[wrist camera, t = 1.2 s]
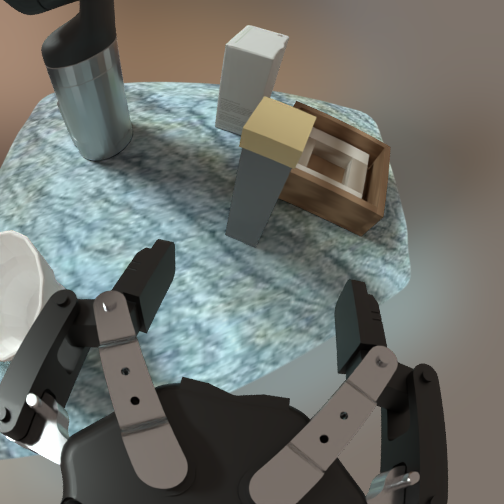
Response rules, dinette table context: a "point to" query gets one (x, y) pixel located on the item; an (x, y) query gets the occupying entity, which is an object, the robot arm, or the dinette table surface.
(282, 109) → the grey plug
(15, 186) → the dinette table surface
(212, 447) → the robot arm
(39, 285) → the cup
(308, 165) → the walnut box
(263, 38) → the skincare box
